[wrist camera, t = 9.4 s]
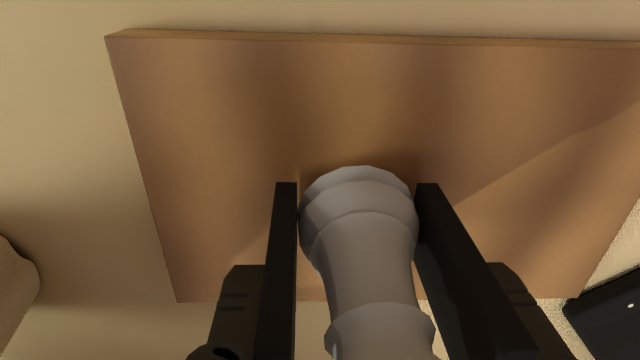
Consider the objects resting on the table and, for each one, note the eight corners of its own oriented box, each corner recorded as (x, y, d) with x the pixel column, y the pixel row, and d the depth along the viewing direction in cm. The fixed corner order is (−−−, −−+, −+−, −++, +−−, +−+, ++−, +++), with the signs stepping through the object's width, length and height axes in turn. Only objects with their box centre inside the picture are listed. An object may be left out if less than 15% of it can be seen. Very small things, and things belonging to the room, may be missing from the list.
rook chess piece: (275, 226, 14) (246, 479, 7) (336, 136, 12) (375, 366, 5) (367, 266, 15) (418, 511, 8) (435, 191, 13) (575, 432, 6)
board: (185, 279, 18) (176, 303, 17) (124, 28, 12) (102, 36, 10) (559, 276, 19) (578, 298, 18) (687, 42, 13) (730, 50, 11)
